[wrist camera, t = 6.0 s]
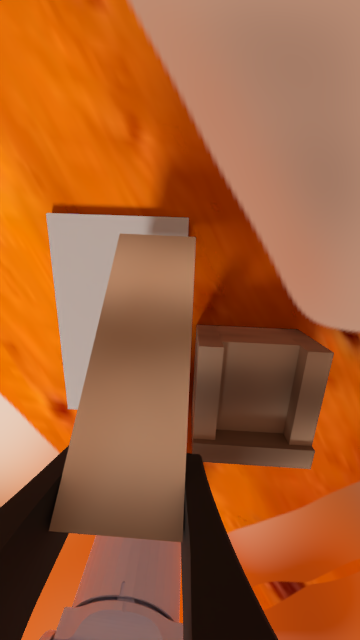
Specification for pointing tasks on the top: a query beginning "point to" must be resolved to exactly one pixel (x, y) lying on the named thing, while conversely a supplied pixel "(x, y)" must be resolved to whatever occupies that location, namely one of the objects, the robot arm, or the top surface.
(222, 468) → the top surface
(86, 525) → the bar
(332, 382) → the top surface
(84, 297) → the mat
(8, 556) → the robot arm
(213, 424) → the holder
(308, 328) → the top surface
